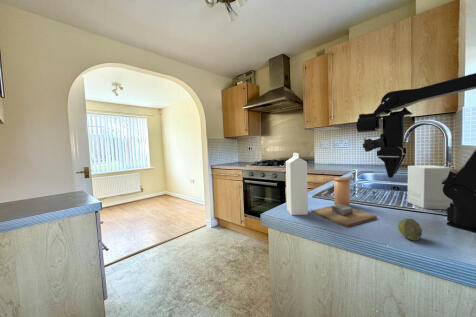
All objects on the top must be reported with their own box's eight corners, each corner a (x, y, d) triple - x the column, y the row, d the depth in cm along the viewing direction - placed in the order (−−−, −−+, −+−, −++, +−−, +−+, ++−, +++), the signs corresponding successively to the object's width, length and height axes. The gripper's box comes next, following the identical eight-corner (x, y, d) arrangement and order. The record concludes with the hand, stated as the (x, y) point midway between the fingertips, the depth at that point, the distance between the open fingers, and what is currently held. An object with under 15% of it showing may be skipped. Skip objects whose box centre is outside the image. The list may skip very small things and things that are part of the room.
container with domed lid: (353, 206, 73) (353, 179, 72) (338, 207, 73) (338, 179, 72) (345, 202, 79) (345, 176, 78) (331, 202, 79) (331, 177, 78)
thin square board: (376, 218, 61) (376, 209, 61) (346, 227, 56) (346, 217, 55) (338, 206, 74) (338, 199, 74) (311, 212, 68) (311, 204, 68)
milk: (291, 215, 67) (289, 153, 65) (286, 209, 73) (285, 152, 71) (308, 214, 67) (307, 152, 65) (302, 208, 73) (300, 152, 71)
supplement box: (453, 210, 66) (455, 167, 65) (423, 209, 68) (424, 168, 67) (432, 202, 75) (433, 164, 74) (406, 201, 76) (407, 165, 76)
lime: (422, 237, 48) (422, 218, 48) (421, 244, 45) (421, 224, 45) (399, 232, 51) (399, 214, 51) (397, 238, 48) (397, 219, 48)
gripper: (370, 132, 76) (370, 170, 77) (358, 131, 63) (358, 177, 64) (407, 130, 68) (406, 172, 69) (402, 128, 55) (401, 180, 56)
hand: (392, 175), depth 65 cm, fingers open, 9 cm apart
